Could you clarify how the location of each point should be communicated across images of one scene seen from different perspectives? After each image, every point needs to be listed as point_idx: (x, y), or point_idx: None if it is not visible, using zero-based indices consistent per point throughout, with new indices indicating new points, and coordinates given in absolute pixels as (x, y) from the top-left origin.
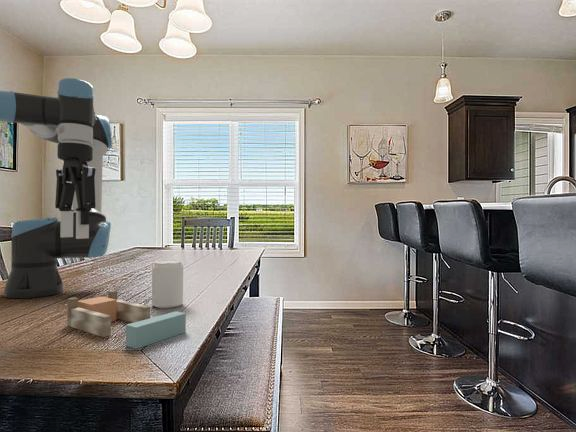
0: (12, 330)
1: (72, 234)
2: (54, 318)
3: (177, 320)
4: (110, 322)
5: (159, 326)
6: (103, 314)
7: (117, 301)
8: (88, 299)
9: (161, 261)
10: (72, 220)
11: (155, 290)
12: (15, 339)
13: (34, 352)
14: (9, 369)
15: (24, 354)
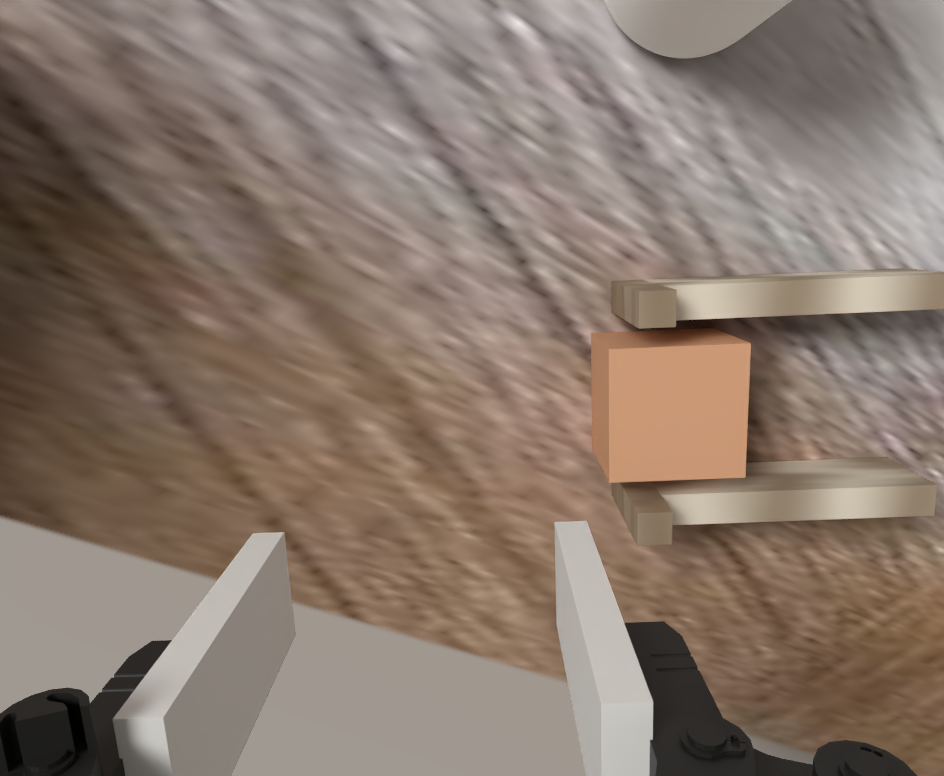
0: (502, 640)
1: (276, 549)
2: (451, 477)
3: None
4: (918, 476)
5: None
6: (887, 492)
7: (712, 315)
8: (623, 430)
9: None
10: (223, 641)
11: (720, 32)
12: None
13: (821, 683)
14: None
15: (813, 706)
